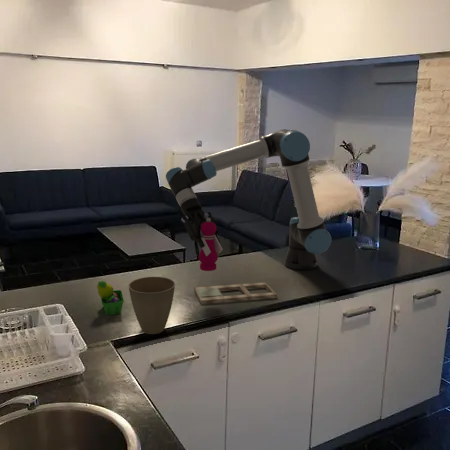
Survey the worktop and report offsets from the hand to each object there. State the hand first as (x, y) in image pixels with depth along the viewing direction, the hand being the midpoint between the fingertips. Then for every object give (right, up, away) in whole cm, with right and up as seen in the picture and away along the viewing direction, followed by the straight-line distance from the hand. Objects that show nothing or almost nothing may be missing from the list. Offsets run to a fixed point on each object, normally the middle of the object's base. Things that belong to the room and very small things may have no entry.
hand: (214, 252), depth 189 cm
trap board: (+8, -17, +10) cm, 21 cm away
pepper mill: (-3, -7, +5) cm, 8 cm away
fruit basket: (-37, -20, -7) cm, 43 cm away
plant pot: (-20, -24, -22) cm, 39 cm away
